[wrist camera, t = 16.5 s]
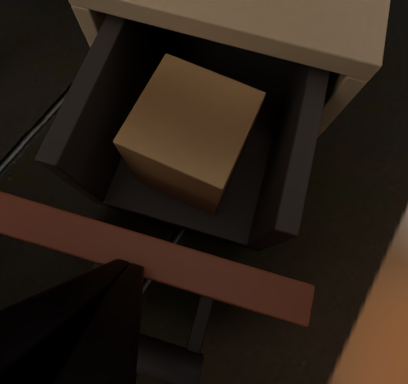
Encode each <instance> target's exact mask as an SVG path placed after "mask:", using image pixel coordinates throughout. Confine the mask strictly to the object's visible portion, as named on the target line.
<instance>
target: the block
mask: <svg viewBox="0 0 408 384" xmlns="http://www.w3.org/2000/svg"><path fill="white" fill-rule="evenodd" d="M265 96H266V93H265V92H263V91H261V90H258V89H256V88H253V87H251V86H248V85H246V84H243V83H241V82H238V81H236V80H233V79H230V78H228V77H225V76H223V75H220V74H218V73H215V72H213V71H210V70H208V69H205V68H203V67H200V66H198V65H195V64H193V63H190V62H188V61H185V60H182V59H180V58H177V57H175V56H172V55H170V54H167V53H166V54H165V55H164V57H163V59H162V60H161V62H160V64H159V65H158V67H157V69H156V70H155V72H154V74H153V75H152V77H151V79H150V80H149V82H148V84H147V85H146V87H145V89H144V90H143V92H142V94H141V95H140V97H139V99H138V100H137V102H136V104H135V105H134V107H133V109H132V110H131V112H130V113H129V115H128V117H127V118H126V120H125V122H124V123H123V125H122V127H121V128H120V130H119V132H118V133H117V135H116V137H115V138H114V140H113V143H114V145H115V146H116V148H117V150H118V151H119V153H120V154H121V156H122V157H123V159H124V161H125V162H126V164H127V165H128V167H129V169H130V170H131V172H132V173H133V175H134V177H135V178H136V180H137V181H139V182H142V183H144V184H146V185H148V186H151V187H153V188H155V189H157V190H160V191H162V192H164V193H166V194H168V195H171V196H173V197H175V198H177V199H180V200H182V201H184V202H186V203H189V204H191V205H193V206H195V207H198V208H200V209H202V210H204V211H207V212H209V213H211V214H213V215H215V214H216V211H217V209H218V207H219V205H220V202H221V200H222V198H223V196H224V193H225V191H226V189H227V187H228V184H229V182H230V180H231V178H232V176H233V173H234V171H235V169H236V167H237V164H238V162H239V160H240V158H241V155H242V153H243V151H244V149H245V146H246V144H247V142H248V139H249V137H250V134H251V132H252V129H253V126H254V124H255V121H256V119H257V116H258V114H259V111H260V108H261V106H262V103H263V101H264V98H265Z"/></svg>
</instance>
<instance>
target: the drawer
mask: <svg viewBox="0 0 408 384" xmlns="http://www.w3.org/2000/svg"><path fill="white" fill-rule="evenodd" d="M166 53H167V54H170V55H172V56H175V57H177V58H180V59H182V60H185V61H188V62H190V63H193V64H195V65H198V66H200V67H203V68H205V69H208V70H210V71H213V72H215V73H218V74H220V75H223V76H225V77H228V78H230V79H233V80H236V81H238V82H241V83H243V84H246V85H248V86H251V87H253V88H256V89H258V90H261V91H263V92H265V93H266V96H265V98H264V101H263V103H262V106H261V108H260V111H259V114H258V116H257V119H256V121H255V124H254V126H253V129H252V132H251V134H250V137H249V139H248V142H247V144H246V146H245V149H244V151H243V153H242V155H241V158H240V160H239V162H238V164H237V167H236V169H235V171H234V173H233V176H232V178H231V180H230V182H229V184H228V187H227V189H226V191H225V193H224V196H223V198H222V200H221V202H220V205H219V207H218V209H217V211H216V214H215V215H213V214H211V213H209V212H207V211H204V210H202V209H200V208H198V207H195V206H193V205H191V204H189V203H186V202H184V201H182V200H180V199H177V198H175V197H173V196H171V195H168V194H166V193H164V192H162V191H160V190H157V189H155V188H153V187H151V186H148V185H146V184H144V183H142V182H139V181H137V180H136V178H135V177H134V175H133V173H132V172H131V170H130V169H129V167H128V165H127V164H126V162H125V161H124V159H123V157H122V156H121V154H120V153H119V151H118V150H117V148H116V146H115V145H114V143H113V140H114V138H115V137H116V135H117V133H118V132H119V130H120V128H121V127H122V125H123V123H124V122H125V120H126V118H127V117H128V115H129V113H130V112H131V110H132V109H133V107H134V105H135V104H136V102H137V100H138V99H139V97H140V95H141V94H142V92H143V90H144V89H145V87H146V85H147V84H148V82H149V80H150V79H151V77H152V75H153V74H154V72H155V70H156V69H157V67H158V65H159V64H160V62H161V60H162V59H163V57H164V55H165V54H166ZM329 75H330V71H327V70H323V69H319V68H315V67H311V66H308V65H304V64H300V63H296V62H292V61H288V60H284V59H280V58H277V57H273V56H269V55H265V54H261V53H257V52H253V51H249V50H246V49H242V48H238V47H234V46H230V45H226V44H222V43H218V42H215V41H211V40H207V39H203V38H199V37H195V36H191V35H187V34H184V33H180V32H176V31H172V30H168V29H164V28H160V27H156V26H153V25H149V24H145V23H141V22H137V21H133V20H129V19H125V18H122V17H118V16H114V15H110V14H107V16H106V18H105V20H104V22H103V24H102V26H101V28H100V30H99V32H98V34H97V36H96V38H95V40H94V42H93V44H92V46H91V48H90V50H89V52H88V54H87V56H86V58H85V60H84V61H83V63H82V65H81V67H80V69H79V71H78V73H77V75H76V77H75V79H74V81H73V83H72V85H71V87H70V89H69V91H68V93H67V95H66V97H65V99H64V101H63V103H62V105H61V107H60V109H59V111H58V113H57V115H56V117H55V119H54V121H53V123H52V125H51V127H50V129H49V131H48V133H47V135H46V137H45V139H44V141H43V143H42V145H41V147H40V149H39V151H38V153H37V154H36V156H35V160H36V161H37V162H38V163H40V164H41V165H43V166H44V167H45V168H47V169H48V170H50V171H51V172H52V173H54V174H55V175H57V176H58V177H59V178H61V179H62V180H64V181H65V182H66V183H68V184H69V185H71V186H72V187H74V188H75V189H76V190H78V191H79V192H81V193H82V194H83V195H85V196H86V197H88V198H89V199H90V200H92V201H93V202H95V203H98V204H101V205H105V206H108V207H111V208H115V209H118V210H121V211H125V212H128V213H132V214H135V215H138V216H142V217H145V218H148V219H152V220H155V221H159V222H162V223H165V224H169V225H172V226H175V227H179V228H182V229H185V230H189V231H192V232H196V233H199V234H202V235H206V236H209V237H212V238H216V239H219V240H223V241H226V242H229V243H233V244H236V245H239V246H243V247H246V248H249V249H253V250H256V251H260V250H262V249H265V248H268V247H270V246H273V245H276V244H278V243H281V242H284V241H287V240H289V239H292V238H295V237H297V236H298V234H299V229H300V224H301V219H302V214H303V209H304V204H305V198H306V193H307V188H308V183H309V178H310V173H311V168H312V162H313V157H314V152H315V147H316V142H317V137H318V132H319V126H320V121H321V116H322V111H323V106H324V101H325V96H326V91H327V85H328V80H329ZM0 234H4V235H7V236H10V237H13V238H17V239H20V240H23V241H26V242H30V243H33V244H36V245H39V246H43V247H46V248H49V249H52V250H55V251H59V252H62V253H65V254H68V255H72V256H75V257H78V258H81V259H85V260H88V261H91V262H94V264H93V266H92V269H94V268H97V267H99V266H101V265H103V264H106V263H108V262H110V261H112V260H115V259H121V260H125V261H128V262H129V263H130V264H131V263H135V264H138V265H141V266H143V267H144V278H146V279H149V280H153V281H156V282H159V283H162V284H166V285H169V286H172V287H175V288H178V289H182V290H185V291H188V292H191V293H195V294H198V295H201V296H200V300H199V303H198V307H197V310H196V314H195V318H194V321H193V325H192V328H191V332H190V336H189V339H188V343H187V348H184V347H181V346H178V345H175V344H171V343H168V342H165V341H162V340H159V339H156V338H153V337H150V336H146V335H143V334H140V333H139V345H138V358H137V369H136V370H137V374H140V375H143V376H146V377H149V378H152V379H155V380H158V381H161V382H164V383H167V384H198V382H199V378H200V374H201V370H202V365H203V359H204V355H203V354H202V353H200V351H201V348H202V344H203V340H204V336H205V332H206V329H207V325H208V321H209V317H210V313H211V310H212V306H213V302H214V300H217V301H221V302H224V303H227V304H230V305H234V306H237V307H240V308H243V309H246V310H250V311H253V312H256V313H259V314H263V315H266V316H269V317H272V318H276V319H279V320H282V321H285V322H289V323H292V324H295V325H298V326H301V327H305V328H307V327H308V325H309V320H310V314H311V308H312V302H313V296H314V290H315V286H313V285H311V284H308V283H305V282H301V281H298V280H295V279H291V278H288V277H285V276H281V275H278V274H275V273H271V272H268V271H265V270H261V269H258V268H255V267H251V266H248V265H245V264H241V263H238V262H235V261H231V260H228V259H225V258H221V257H218V256H215V255H211V254H208V253H205V252H201V251H198V250H195V249H191V248H188V247H185V246H181V245H178V244H175V243H171V242H168V241H165V240H161V239H158V238H155V237H151V236H148V235H145V234H141V233H138V232H135V231H131V230H128V229H125V228H121V227H118V226H115V225H111V224H108V223H105V222H101V221H98V220H95V219H91V218H88V217H85V216H81V215H78V214H75V213H71V212H68V211H65V210H61V209H58V208H55V207H51V206H48V205H45V204H41V203H38V202H35V201H31V200H28V199H25V198H21V197H18V196H15V195H11V194H8V193H5V192H1V191H0ZM92 269H91V270H92Z"/></svg>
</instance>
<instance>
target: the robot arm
mask: <svg viewBox="0 0 408 384" xmlns="http://www.w3.org/2000/svg"><path fill="white" fill-rule="evenodd" d="M143 278H144V267H143V266H141V265H138V264H135V263H131V264H130V263H129V262H128V261H125V260H121V259H115V260H112V261H110V262H108V263H106V264H103V265H101V266H99V267H97V268H94V269H92V270H90V271H88V272H85V273H83V274H81V275H79V276H76V277H74V278H72V279H70V280H67V281H65V282H63V283H61V284H58V285H56V286H54V287H52V288H49V289H47V290H45V291H43V292H40V293H38V294H36V295H34V296H31V297H29V298H27V299H25V300H22V301H20V302H18V303H16V304H13V305H11V306H9V307H7V308H4V309H2V310H0V384H136V375H137V370H136V369H137V358H138V345H139V332H140V318H141V305H142V291H143Z"/></svg>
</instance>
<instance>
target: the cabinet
mask: <svg viewBox="0 0 408 384" xmlns="http://www.w3.org/2000/svg"><path fill="white" fill-rule="evenodd" d="M68 1H69V3H70V4H71V7H72V10H73V12H74V14H75V16H76V18H77V20H78V22H79V25H80V27H81V29H82V31H83V33H84V35H85V37H86V40H87V42H88V44H89V46H90V48H91V46H92V44H93V42H94V40H95V38H96V36H97V34H98V32H99V30H100V28H101V26H102V24H103V22H104V20H105V18H106V16H107V14H110V15H114V16H118V17H122V18H125V19H129V20H133V21H137V22H141V23H145V24H149V25H153V26H156V27H160V28H164V29H168V30H172V31H176V32H180V33H184V34H187V35H191V36H195V37H199V38H203V39H207V40H211V41H215V42H218V43H222V44H226V45H230V46H234V47H238V48H242V49H246V50H249V51H253V52H257V53H261V54H265V55H269V56H273V57H277V58H280V59H284V60H288V61H292V62H296V63H300V64H304V65H308V66H311V67H315V68H319V69H323V70H327V71H330V75H329V80H328V85H327V91H326V96H325V101H324V106H323V111H322V116H321V121H320V126H319V132H318V137H319V136H320V135H321V134H322V132H323V131H324V130H325V129H326V128H327V127H328V126H329V125H330V123H331V122H332V121H333V120H334V119H335V118H336V117H337V116H338V114H339V113H340V112H341V111H342V110H343V109H344V108H345V107H346V106H347V104H348V103H349V102H350V101H351V100H352V99H353V98H354V97H355V95H356V94H357V93H358V92H359V91H360V90H361V89H362V88H363V86H364V85H365V84H366V83H367V82H368V81H369V80H370V79H371V78H372V77H373V76H374V74H375V73H376V72H377V71H378V70H379V69H380V68H381V66H382V61H383V53H384V46H385V38H386V30H387V23H388V15H389V8H390V0H68ZM318 137H317V138H318Z"/></svg>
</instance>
